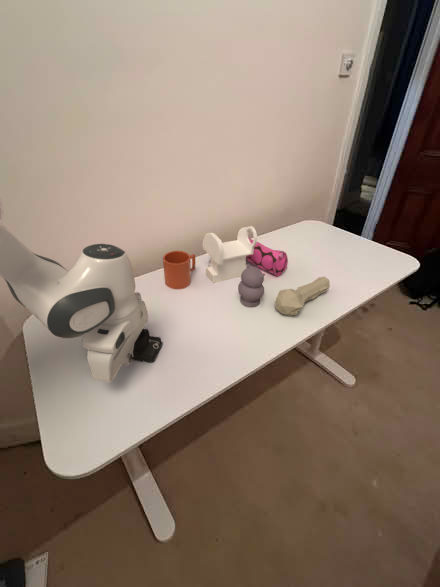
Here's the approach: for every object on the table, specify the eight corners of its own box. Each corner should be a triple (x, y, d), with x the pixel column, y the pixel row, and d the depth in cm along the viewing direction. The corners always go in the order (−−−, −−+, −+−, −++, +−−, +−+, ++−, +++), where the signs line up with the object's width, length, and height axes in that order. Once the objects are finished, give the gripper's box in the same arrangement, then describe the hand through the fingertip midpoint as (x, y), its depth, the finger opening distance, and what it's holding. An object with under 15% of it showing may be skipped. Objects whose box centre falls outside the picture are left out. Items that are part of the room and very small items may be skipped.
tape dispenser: (237, 262, 115) (241, 217, 104) (254, 280, 105) (260, 233, 95) (202, 270, 109) (203, 223, 99) (217, 289, 100) (220, 240, 89)
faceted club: (265, 306, 93) (313, 281, 107) (284, 326, 89) (331, 298, 103) (276, 287, 86) (325, 263, 100) (297, 308, 83) (345, 280, 97)
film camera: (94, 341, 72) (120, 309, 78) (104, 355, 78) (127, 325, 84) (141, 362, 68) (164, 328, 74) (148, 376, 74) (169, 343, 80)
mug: (175, 292, 98) (173, 267, 92) (159, 280, 103) (157, 256, 97) (203, 279, 105) (203, 255, 99) (187, 268, 110) (186, 245, 104)
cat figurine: (231, 298, 97) (234, 266, 90) (249, 290, 101) (253, 258, 94) (249, 312, 91) (253, 280, 84) (267, 303, 95) (273, 271, 88)
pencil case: (229, 257, 117) (230, 234, 111) (245, 249, 123) (248, 226, 117) (273, 281, 105) (277, 256, 100) (289, 271, 111) (294, 247, 105)
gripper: (126, 286, 72) (133, 328, 80) (76, 348, 56) (92, 393, 64) (151, 290, 71) (156, 332, 79) (108, 355, 55) (120, 399, 63)
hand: (127, 360), depth 71 cm, fingers closed
